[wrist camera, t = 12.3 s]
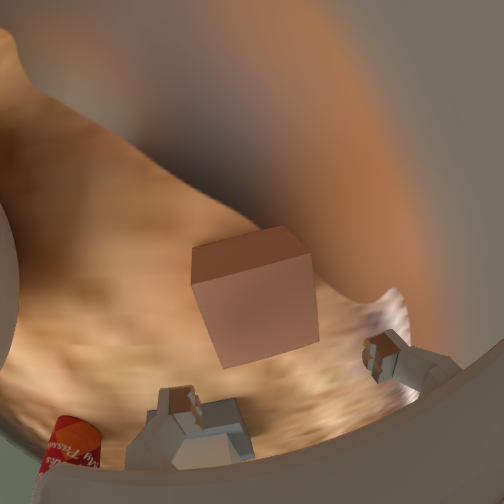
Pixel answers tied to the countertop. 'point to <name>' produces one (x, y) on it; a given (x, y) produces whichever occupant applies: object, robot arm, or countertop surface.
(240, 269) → the brick
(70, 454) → the coffee cup
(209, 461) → the brick
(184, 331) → the countertop surface
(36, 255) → the countertop surface
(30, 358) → the countertop surface
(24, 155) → the countertop surface
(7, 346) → the toy
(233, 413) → the base
